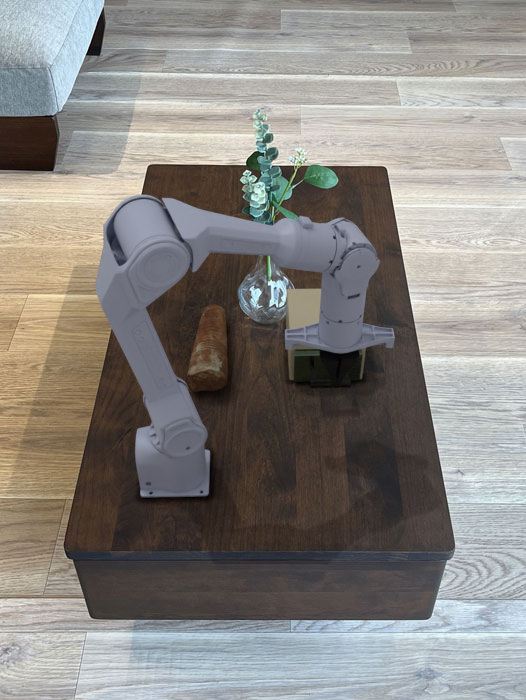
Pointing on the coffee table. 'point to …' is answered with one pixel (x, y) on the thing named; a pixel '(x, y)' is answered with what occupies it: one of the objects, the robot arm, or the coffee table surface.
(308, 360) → the drawer
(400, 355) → the coffee table surface
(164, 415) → the robot arm
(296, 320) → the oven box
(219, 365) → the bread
